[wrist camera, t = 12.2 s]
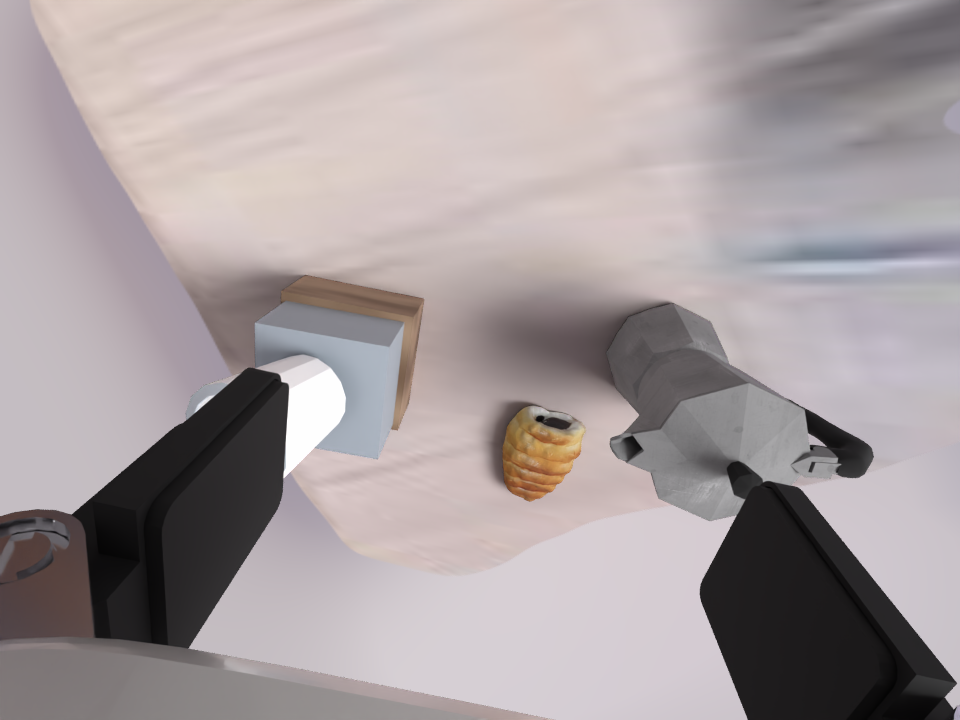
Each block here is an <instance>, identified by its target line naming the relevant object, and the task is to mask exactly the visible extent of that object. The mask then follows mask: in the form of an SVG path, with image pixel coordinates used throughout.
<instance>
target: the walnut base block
mask: <svg viewBox="0 0 960 720" xmlns="http://www.w3.org/2000/svg"><path fill="white" fill-rule="evenodd" d="M285 301H290V302H296V303H301V304H307V305H312V306H318V307H323V308H329V309H334V310H340V311H345V312H351V313H357V314H362V315H368V316H373V317H379V318H384V319H390V320H395V321H401V322H405V323H404V331H403V340H402V349H401V358H400V366H399V375H398V384H397V393H396V401H395V410H394V419H393V425H392V427H391V429H393V430H398V428H399V426H400V423H401V421H402V418H403V416H404V413H405V411H406V408H407V406H408V404H409V398H410V391H411V385H412V378H413V371H414V364H415V358H416V351H417V344H418V338H419V331H420V324H421V317H422V311H423V304H424V299H422V298H417V297H412V296H407V295H402V294H397V293H392V292H387V291H382V290H377V289H372V288H367V287H362V286H357V285H352V284H347V283H342V282H337V281H332V280H327V279H322V278H317V277H312V276H307V275H305V276H303V277H302V278H300V279H299V280H297V281H296V282H294V283H293V284H291V285H290V286H288V287H287V288H285V289H284V290H282V291H281V304H282V303H283V302H285Z"/></svg>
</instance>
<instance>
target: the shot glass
mask: <svg viewBox="0 0 960 720" xmlns="http://www.w3.org/2000/svg"><path fill="white" fill-rule="evenodd" d="M255 369H260V370H264V371H269V372H273V373H278V374H279V375H280V376H281V382H284V383H288V385H289V402H288V417H287V432H286V447H285V462H284V477H285V476H286V475H287V474H288V473H289V472H290V471H291V470H292V469H293V468H294V467H295V466H296V465H297V464H298V463H299V462H300V461H301V460H302V459H303V458H304V457H305V456H306V455H307V454H308V453H309V452H310V451H311V450H312V449H313V448H314V447H315V446H316V445H317V444H319V443H320V442H321V441H322V440H323V439H324V438H325V437H326V436H327V435H328V434H329V433H330V432H331V431H332V430H333V429H334V428H335V427H336V426H337V425H338V424H339V422H340V420H341V418H342V416H343V414H344V413H345V400H346V397H345V393H344V390H343V387H342V384H341V381H340V380H339V379H338V377H337V376H336V374H335V373H334V372H333V370H332V369H331V368H330V367H329V366H327V365H326V364H325V363H323V362H322V361H320V360H319V359H318V358H315V357H311V356H307V355H304V354H302V355H296V356H290V357H287V358H284V359H281V360H278V361H275V362H272V363H269V364H266V365H263V366H260V367H257V368H255ZM240 374H241V373H239V374H236V375H233V376H230V377H227V378H225V379H222V380H218V381H216V382H212V383H209V384H206V385H204V386H203V387H202V388H200V389H199V390H198V391H197V392H196V393H195V394H194V395H192V396H191V399H190V402H189V405H188V408H187V411H186V420H187V419H188V418H190V417H191V416H192V415H193V414H194V413H195V412H197V411H198V410H199V409H200V408H201V407H202V406H203V405H205V404H206V403H207V402H208V401H209V400H210V399H212V398H213V397H214V396H215V395H216V394H217V393H219V392H220V391H221V390H222V389H223V388H224V387H226V386H227V385H228V384H229V383H230V382H231V381H233V380H234V379H235V378H236V377H237V376H238V375H240ZM284 477H283V478H284Z"/></svg>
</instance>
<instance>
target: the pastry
mask: <svg viewBox="0 0 960 720" xmlns="http://www.w3.org/2000/svg"><path fill="white" fill-rule="evenodd" d="M585 432H586V430H585V426H584V425H583V424H582V423H581V422H579V421H577V420H576V419H573V418H572V416H570V415H567V414H565V413H558V412H548V411H547V410H546V409H544V408H541V407H537V406H528V407H525V408H523V409H522V410H521V411H519V412H518V413H517V414H516V416H515V417H514V418H513V419H512V420H511V422H510V423H509V424H508V426H507V431H506V436H505V441H504V444H503V448H502V450H503V457H502V459H503V470H504V482H505V485H506V486H507V488H508V490H509V491H510V492H511V493H513V494H514V495H517V496H519V497H522V498H524V499H525V500H527V501H529V502H530V501H533V500H535V499H539V498H542V497H543V496H544V495H545V494H547V493H548V492H552V491H553V490H554V489H555V487H556V485H557V484H559V483H561V482H562V481H563V479H564V476H565V475H566V474H567V473H569V472H570V470H571V469H572V466H573V461H574V459H576V458H577V457H578V456H579V455H580V452H581V442H582V438H583V435H584V434H585Z"/></svg>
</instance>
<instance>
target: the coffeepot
mask: <svg viewBox="0 0 960 720" xmlns="http://www.w3.org/2000/svg"><path fill="white" fill-rule="evenodd" d="M606 355H607V358H608V361H609V365H610V369H611V372H612V375H613V379H614V382H615V386H616V389H617V390H618V391H619V392H620V393H621V395H622V396H623V397H624V398H625V399H626V400H627V401H628V402H629V404H630V405H631V406H632V407H633V408H634V409H635V410H636V411H637V413H638V414H639V417H638V418H637V419H636V420H635V421H634V422H633V423H632V425H631V426H630V427H629V428H628V429H627V430H626V431H625V432H624V433H623V434H621V435H619V436H615V437H612V438H611V439H610V447H611V449H612V451H613V453H614V454H615V455H616V457H617V458H618V459H621V460H623V461H626V463H628V464H631V465H633V466H636V467H638V468H641V469H643V470H646V471H648V472H651V475H652V479H653V482H654V486H655V489H656V492H657V495H658V498H659V499H661V500H663V501H665V502H667V503H670V504H672V505H674V506H676V507H679V508H681V509H683V510H685V511H688V512H690V513H692V514H695V515H697V516H699V517H702V518H704V519H706V520H708V521H713V520H717V519H722V518H726V517H731V516H735V515H737V514H738V512H739V511H740V509H741V507H742V505H743V503H744V501H745V499H746V497H747V495H748V494H749V492H750V490H751V489H752V488H753V487H754V486H760V484H762V483H763V482H765V481H772V482H776V483H781V484H786V485H790V486H791V485H792V484H793V483H794V482H795V481H796V480H797V479H798V478H799V477H800V475H802V476H803V477H809V478H823V479H831V476H832V474H836V475H839V476H842V477H847V478H859V477H861V476H862V475H864V474H865V472H866V471H867V469H868V467H869V466H870V464H871V462H872V460H873V458H874V456H873V452H872V448H871V447H870V446H869V445H868V444H866V443H865V442H864V441H862V440H860V439H859V438H857V437H855V436H853V435H851V434H849V433H847V432H845V431H843V430H842V429H840V428H838V427H836V426H835V425H833V424H831V423H829V422H828V421H826V420H824V419H823V418H821V417H820V416H818V415H817V414H815V413H813V412H811V411H809V410H807V409H805V408H803V407H801V406H799V405H798V404H796V403H794V402H793V401H791V400H789V399H786V398H784V397H783V396H781V395H780V394H778V393H776V392H775V391H773V390H772V389H770V388H768V387H767V386H765V385H764V384H762V383H760V382H759V381H757V380H756V379H754V378H752V377H751V376H749V375H747V374H746V373H744V372H743V371H741V370H739V369H737V368H735V367H733V366H731V365H729V362H728V358H727V356H726V354H725V352H724V349H723V347H722V345H721V343H720V341H719V339H718V336H717V334H716V332H715V330H714V328H713V326H712V323H711V322H710V321H708V320H706V319H704V318H702V317H700V316H698V315H696V314H694V313H693V312H691V311H688V310H686V309H684V308H682V307H680V306H678V305H676V304H674V303H672V304H668V305H664V306H661V307H656V308H652V309H648V310H646V311H643V312H641V313H639V314H636V315H633V316H629V317H628V318H627V320H626V321H625V323H624V325H623V326H622V327H621V329H620V330H619V331H618V333H617V334H616V336H615V338H614V340H613V342H612V344H611V346H610V347H609V349H608V350H607V352H606ZM808 433H809V434H811V435H812V436H814V437H816V438H817V439H819V440H820V441H821V442H823V443H824V444H825V445H826V446H827V447H824V446H818V445H809V437H808Z"/></svg>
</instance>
